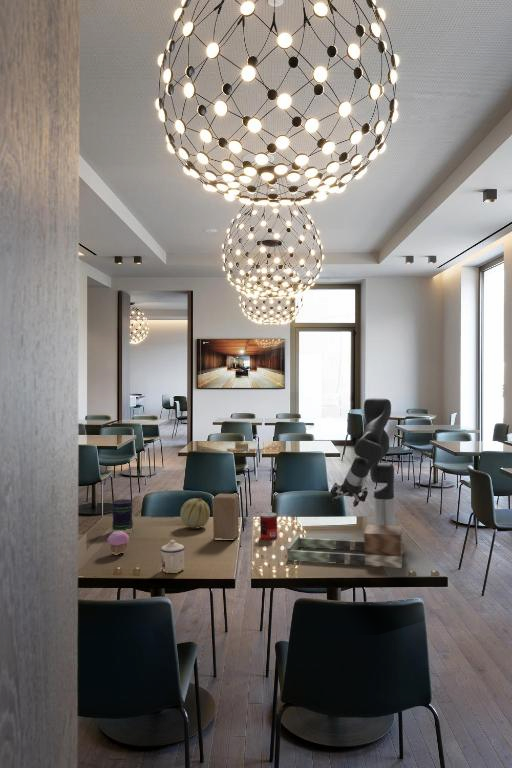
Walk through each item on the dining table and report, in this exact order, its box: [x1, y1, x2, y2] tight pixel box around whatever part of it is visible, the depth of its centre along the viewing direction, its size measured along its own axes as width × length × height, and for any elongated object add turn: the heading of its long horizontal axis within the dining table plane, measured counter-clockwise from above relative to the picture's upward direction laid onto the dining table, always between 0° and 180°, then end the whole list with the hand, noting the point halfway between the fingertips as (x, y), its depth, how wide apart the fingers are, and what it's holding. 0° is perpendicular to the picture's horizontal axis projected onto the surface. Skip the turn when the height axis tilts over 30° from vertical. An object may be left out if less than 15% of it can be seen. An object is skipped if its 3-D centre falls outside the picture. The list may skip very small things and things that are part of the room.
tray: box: [286, 534, 404, 569], centre depth 247 cm, size 45×20×5 cm, turn 75°
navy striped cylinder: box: [111, 499, 134, 530], centre depth 294 cm, size 10×10×15 cm
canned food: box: [259, 512, 278, 541], centre depth 278 cm, size 8×8×11 cm
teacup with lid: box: [160, 539, 185, 570], centre depth 232 cm, size 12×9×12 cm
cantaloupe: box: [180, 497, 211, 528], centre depth 299 cm, size 15×15×15 cm
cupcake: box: [107, 531, 130, 553], centre depth 256 cm, size 9×9×10 cm
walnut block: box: [363, 524, 403, 558], centre depth 243 cm, size 14×14×12 cm
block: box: [212, 493, 240, 540], centre depth 278 cm, size 10×10×20 cm
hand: (344, 503), depth 247 cm, fingers open, 8 cm apart
